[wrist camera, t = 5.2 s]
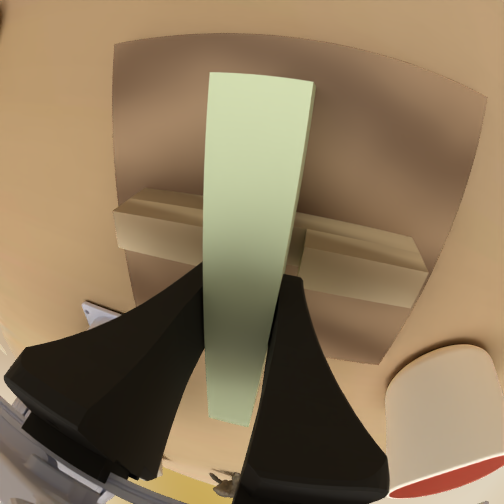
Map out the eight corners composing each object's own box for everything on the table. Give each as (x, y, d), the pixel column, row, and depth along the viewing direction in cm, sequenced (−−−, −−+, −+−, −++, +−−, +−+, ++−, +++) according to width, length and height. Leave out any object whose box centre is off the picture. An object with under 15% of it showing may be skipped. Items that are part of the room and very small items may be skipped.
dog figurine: (273, 481, 46) (266, 511, 39) (259, 483, 49) (252, 511, 43) (221, 466, 44) (211, 497, 38) (210, 468, 47) (200, 497, 41)
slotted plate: (273, 328, 18) (248, 427, 12) (242, 321, 18) (208, 417, 13) (316, 86, 10) (313, 82, 5) (268, 79, 11) (209, 71, 5)
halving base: (377, 354, 19) (380, 400, 16) (143, 303, 21) (117, 339, 18) (477, 95, 9) (523, 104, 6) (125, 44, 11) (74, 43, 8)
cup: (507, 345, 16) (537, 445, 8) (442, 407, 22) (449, 492, 13) (429, 325, 17) (455, 461, 8) (363, 397, 22) (358, 500, 14)
